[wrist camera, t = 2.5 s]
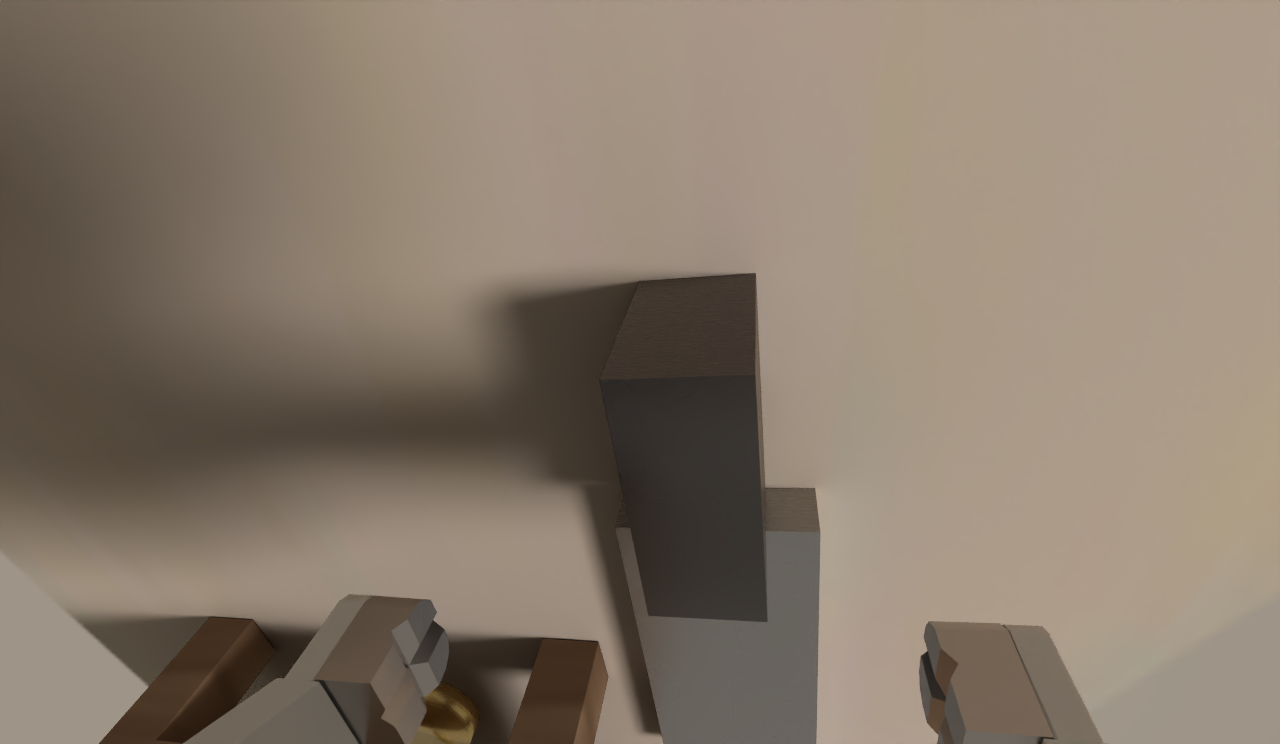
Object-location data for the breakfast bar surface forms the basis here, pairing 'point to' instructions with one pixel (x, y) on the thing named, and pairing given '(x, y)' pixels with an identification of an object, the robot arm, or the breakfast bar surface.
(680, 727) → the scraper
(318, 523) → the breakfast bar surface
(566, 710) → the walnut cabinet
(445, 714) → the brass disc
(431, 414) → the breakfast bar surface
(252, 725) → the robot arm
